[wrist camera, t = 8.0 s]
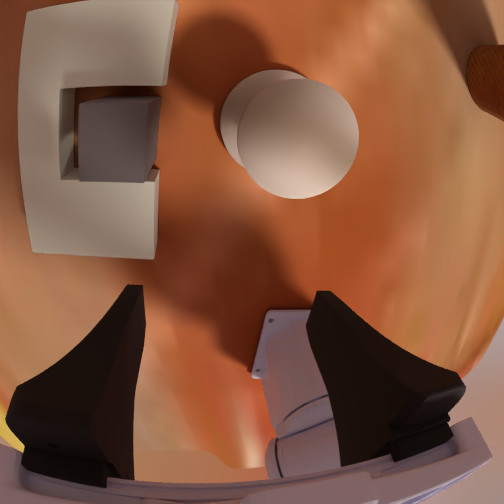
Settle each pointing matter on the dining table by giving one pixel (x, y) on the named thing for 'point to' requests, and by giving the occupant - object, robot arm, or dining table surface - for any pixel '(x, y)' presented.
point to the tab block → (118, 138)
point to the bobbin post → (289, 133)
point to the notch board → (62, 122)
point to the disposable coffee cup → (487, 79)
